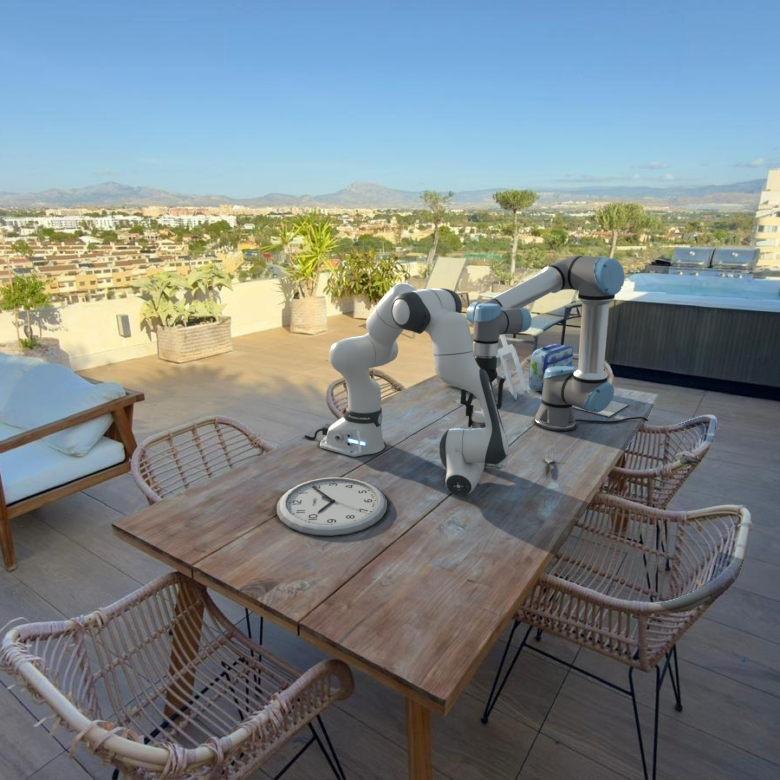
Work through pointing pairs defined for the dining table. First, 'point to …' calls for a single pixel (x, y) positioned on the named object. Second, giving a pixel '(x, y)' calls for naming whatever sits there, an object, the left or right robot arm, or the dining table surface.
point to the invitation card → (609, 408)
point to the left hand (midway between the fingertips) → (478, 445)
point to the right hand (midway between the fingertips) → (479, 426)
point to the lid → (477, 416)
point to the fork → (548, 462)
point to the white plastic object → (502, 357)
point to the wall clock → (331, 506)
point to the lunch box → (548, 362)
